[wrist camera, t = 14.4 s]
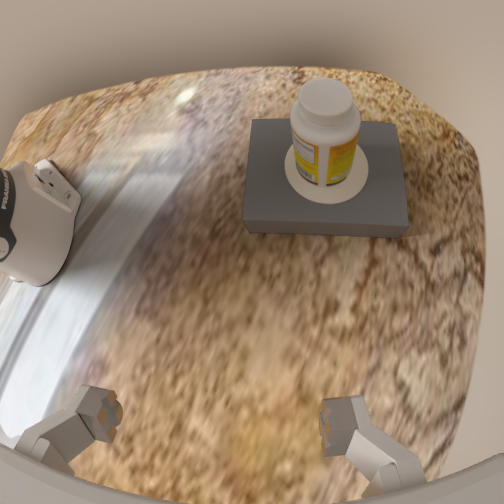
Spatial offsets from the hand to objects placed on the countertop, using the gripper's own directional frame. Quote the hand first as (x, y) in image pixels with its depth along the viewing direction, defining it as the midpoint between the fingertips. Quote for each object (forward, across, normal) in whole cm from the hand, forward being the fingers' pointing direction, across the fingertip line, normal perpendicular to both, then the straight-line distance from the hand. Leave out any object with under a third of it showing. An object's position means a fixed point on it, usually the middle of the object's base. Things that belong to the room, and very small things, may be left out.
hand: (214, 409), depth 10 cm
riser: (+26, -9, -4) cm, 28 cm away
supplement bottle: (+23, -8, -6) cm, 25 cm away
